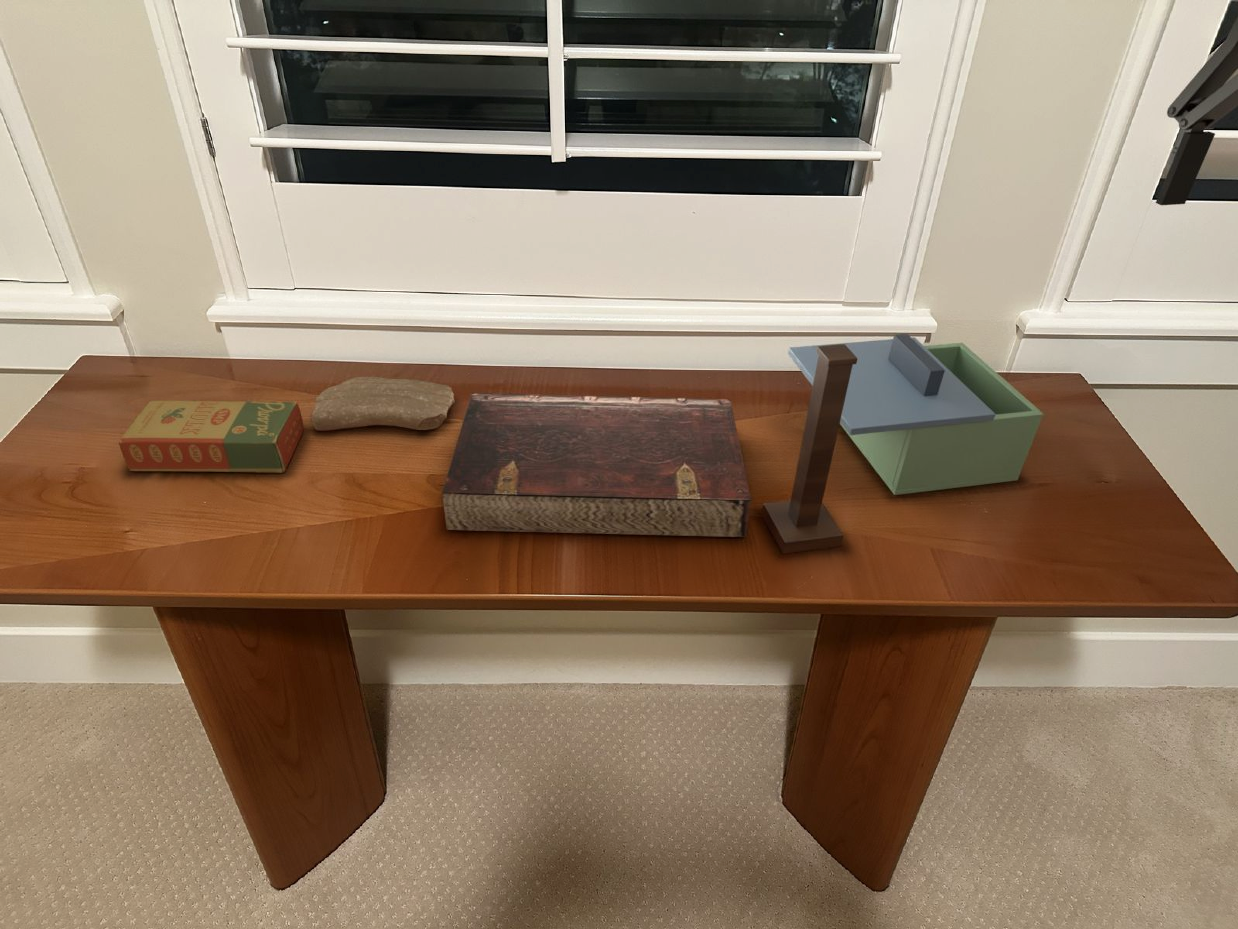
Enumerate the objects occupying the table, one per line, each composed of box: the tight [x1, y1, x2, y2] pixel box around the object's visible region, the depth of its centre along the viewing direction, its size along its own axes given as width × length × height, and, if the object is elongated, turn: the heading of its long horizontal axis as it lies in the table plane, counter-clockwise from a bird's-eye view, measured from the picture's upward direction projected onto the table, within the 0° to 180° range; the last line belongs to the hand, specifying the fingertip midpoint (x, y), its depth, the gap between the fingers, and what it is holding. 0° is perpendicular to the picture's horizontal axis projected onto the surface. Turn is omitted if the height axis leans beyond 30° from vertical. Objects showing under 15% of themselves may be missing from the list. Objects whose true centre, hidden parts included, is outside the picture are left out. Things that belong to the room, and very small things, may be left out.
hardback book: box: [441, 392, 752, 538], centre depth 86 cm, size 29×19×5 cm, turn 90°
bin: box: [839, 342, 1044, 496], centre depth 92 cm, size 16×15×9 cm
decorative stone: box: [310, 376, 455, 432], centre depth 96 cm, size 10×16×4 cm, turn 91°
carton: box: [118, 400, 305, 474], centre depth 89 cm, size 8×16×4 cm, turn 92°
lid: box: [787, 333, 995, 435], centre depth 87 cm, size 17×16×4 cm
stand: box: [761, 343, 857, 555], centre depth 76 cm, size 6×6×20 cm
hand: (1226, 228), depth 74 cm, fingers open, 13 cm apart
